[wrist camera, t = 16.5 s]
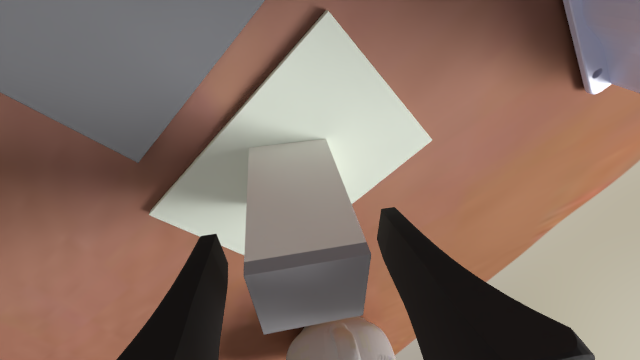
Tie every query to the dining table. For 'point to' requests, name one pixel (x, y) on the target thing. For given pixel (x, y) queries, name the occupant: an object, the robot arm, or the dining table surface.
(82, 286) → the dining table surface
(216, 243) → the robot arm
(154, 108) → the socket board
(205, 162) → the mat
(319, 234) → the plug
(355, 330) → the teacup
